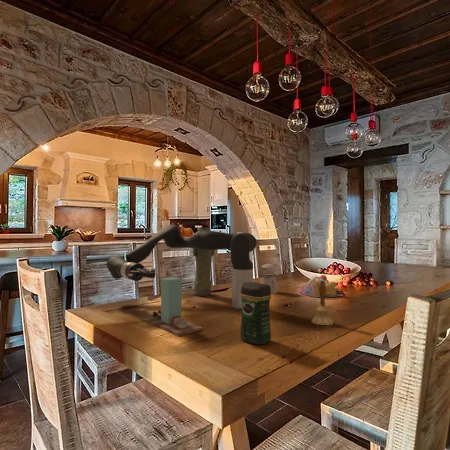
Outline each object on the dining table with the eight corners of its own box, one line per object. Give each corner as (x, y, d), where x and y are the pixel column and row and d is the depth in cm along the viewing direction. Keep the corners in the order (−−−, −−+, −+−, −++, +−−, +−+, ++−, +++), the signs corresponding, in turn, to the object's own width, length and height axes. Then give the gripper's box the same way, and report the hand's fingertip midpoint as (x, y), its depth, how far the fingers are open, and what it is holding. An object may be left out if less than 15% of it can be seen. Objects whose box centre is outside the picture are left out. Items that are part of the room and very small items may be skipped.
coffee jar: (275, 341, 103) (275, 283, 103) (258, 347, 98) (258, 286, 98) (252, 333, 111) (253, 279, 110) (236, 339, 105) (236, 281, 105)
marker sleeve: (161, 321, 119) (161, 278, 119) (173, 318, 123) (174, 276, 123) (168, 324, 116) (168, 280, 116) (181, 321, 119) (181, 278, 119)
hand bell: (330, 327, 118) (331, 283, 117) (308, 323, 122) (308, 281, 122) (336, 321, 125) (336, 280, 125) (314, 318, 129) (315, 278, 129)
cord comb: (142, 319, 125) (142, 310, 125) (165, 315, 132) (165, 306, 132) (178, 336, 107) (178, 325, 107) (202, 329, 114) (202, 319, 114)
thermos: (216, 294, 170) (218, 227, 171) (197, 296, 163) (200, 227, 164) (206, 291, 177) (208, 227, 178) (188, 293, 170) (190, 227, 170)
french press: (280, 291, 180) (280, 246, 180) (271, 294, 170) (272, 247, 170) (264, 289, 186) (264, 245, 185) (255, 292, 176) (255, 246, 176)
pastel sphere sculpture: (353, 297, 168) (353, 279, 168) (313, 300, 161) (313, 281, 161) (325, 288, 192) (325, 272, 192) (289, 290, 185) (289, 273, 185)
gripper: (146, 278, 145) (167, 283, 133) (118, 281, 137) (137, 287, 124) (146, 261, 146) (167, 264, 133) (118, 263, 137) (137, 267, 124)
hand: (153, 275), depth 128 cm, fingers closed
